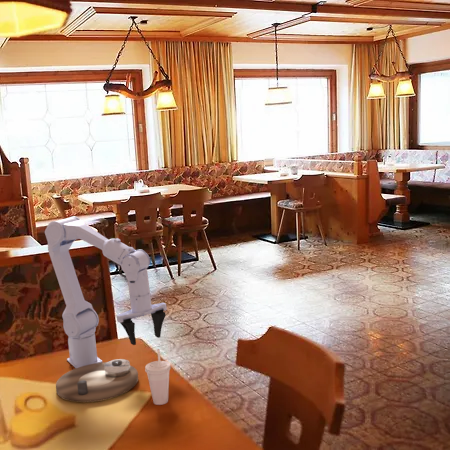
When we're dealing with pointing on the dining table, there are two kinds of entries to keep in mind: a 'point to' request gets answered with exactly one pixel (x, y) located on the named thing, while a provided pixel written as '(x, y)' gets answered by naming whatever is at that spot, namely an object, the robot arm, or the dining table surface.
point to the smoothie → (158, 380)
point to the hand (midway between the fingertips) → (145, 340)
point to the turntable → (94, 383)
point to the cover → (117, 368)
